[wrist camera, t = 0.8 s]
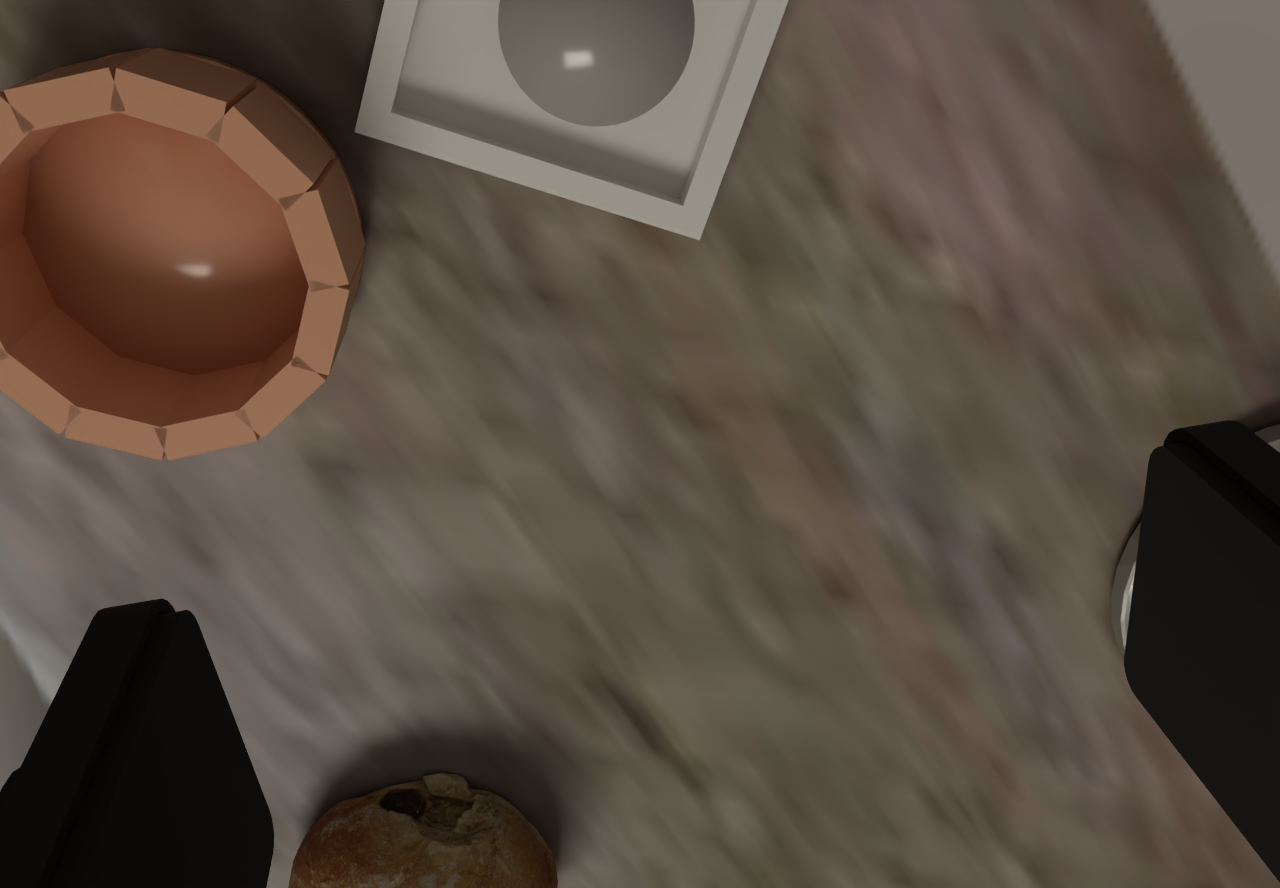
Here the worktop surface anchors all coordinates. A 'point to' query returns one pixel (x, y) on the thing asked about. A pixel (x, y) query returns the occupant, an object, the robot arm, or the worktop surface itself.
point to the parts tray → (553, 148)
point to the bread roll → (424, 841)
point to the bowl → (169, 252)
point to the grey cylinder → (596, 54)
